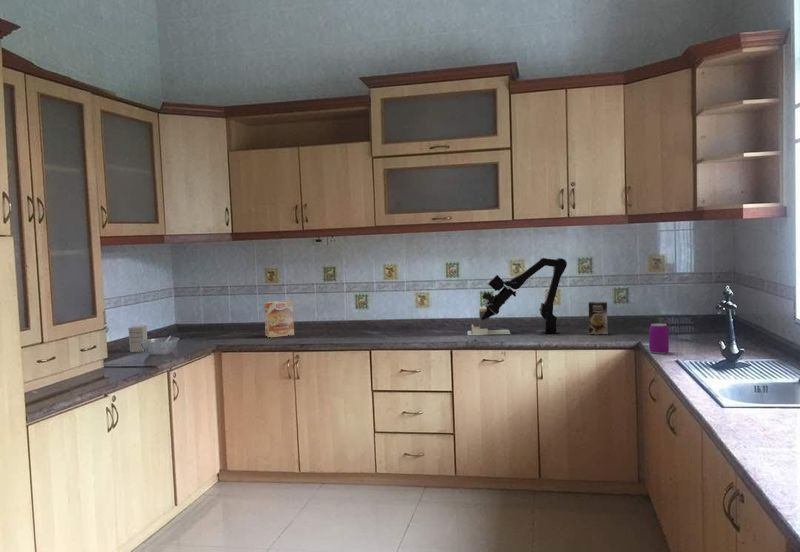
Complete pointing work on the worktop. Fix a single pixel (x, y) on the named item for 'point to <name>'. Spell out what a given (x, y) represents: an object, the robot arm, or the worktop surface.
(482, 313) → the plug
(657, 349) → the beverage can
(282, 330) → the coffeecake box
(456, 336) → the worktop surface
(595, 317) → the coffee box
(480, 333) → the board
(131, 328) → the supplement box
